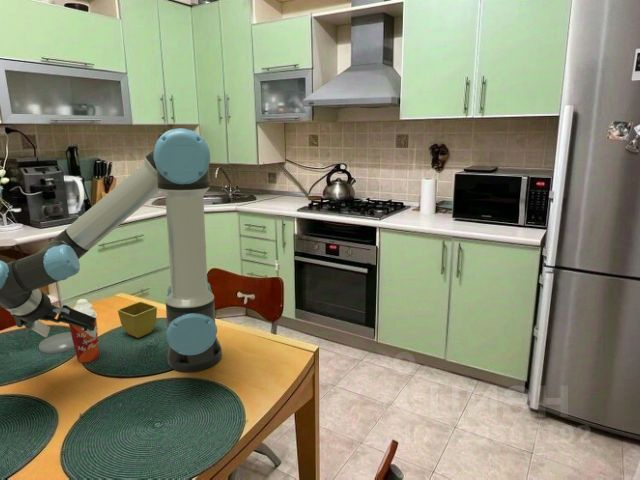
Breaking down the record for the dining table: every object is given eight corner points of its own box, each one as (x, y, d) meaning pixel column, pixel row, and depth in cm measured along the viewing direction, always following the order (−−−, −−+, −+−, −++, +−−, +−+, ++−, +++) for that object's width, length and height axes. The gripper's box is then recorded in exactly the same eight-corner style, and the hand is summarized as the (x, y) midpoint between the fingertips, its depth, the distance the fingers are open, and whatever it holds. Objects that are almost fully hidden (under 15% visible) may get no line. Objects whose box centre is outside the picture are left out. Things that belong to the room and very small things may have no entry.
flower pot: (160, 331, 146) (157, 306, 143) (137, 342, 138) (133, 315, 136) (143, 325, 150) (140, 301, 148) (120, 335, 143) (116, 310, 141)
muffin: (74, 322, 153) (71, 303, 152) (74, 316, 159) (71, 297, 157) (94, 318, 156) (91, 300, 155) (93, 312, 162) (91, 294, 160)
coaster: (85, 346, 136) (85, 343, 136) (39, 357, 130) (39, 353, 129) (81, 332, 146) (81, 328, 146) (39, 341, 140) (38, 338, 139)
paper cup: (83, 367, 124) (75, 321, 121) (68, 360, 128) (60, 315, 125) (108, 355, 131) (102, 311, 127) (93, 348, 135) (87, 306, 131)
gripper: (-32, 316, 104) (22, 345, 122) (73, 316, 103) (111, 345, 121) (-18, 287, 108) (32, 319, 126) (82, 287, 107) (118, 320, 125)
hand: (71, 332), depth 124 cm, fingers open, 13 cm apart
